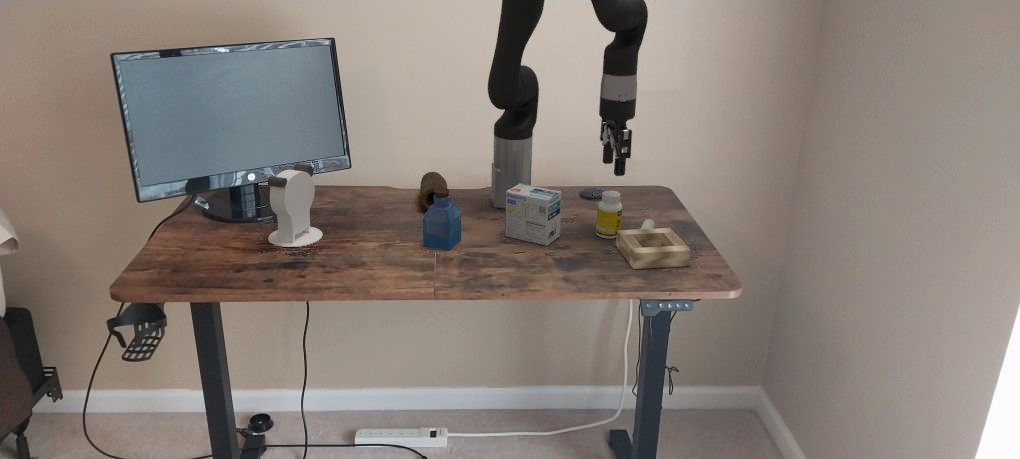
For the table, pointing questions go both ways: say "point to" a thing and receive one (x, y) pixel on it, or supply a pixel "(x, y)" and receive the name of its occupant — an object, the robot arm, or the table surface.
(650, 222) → the lying dowel
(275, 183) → the headphone stand
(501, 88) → the robot arm
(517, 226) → the light bulb box
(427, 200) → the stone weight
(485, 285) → the table surface
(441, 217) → the perfume bottle
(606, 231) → the supplement bottle
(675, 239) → the socket block
